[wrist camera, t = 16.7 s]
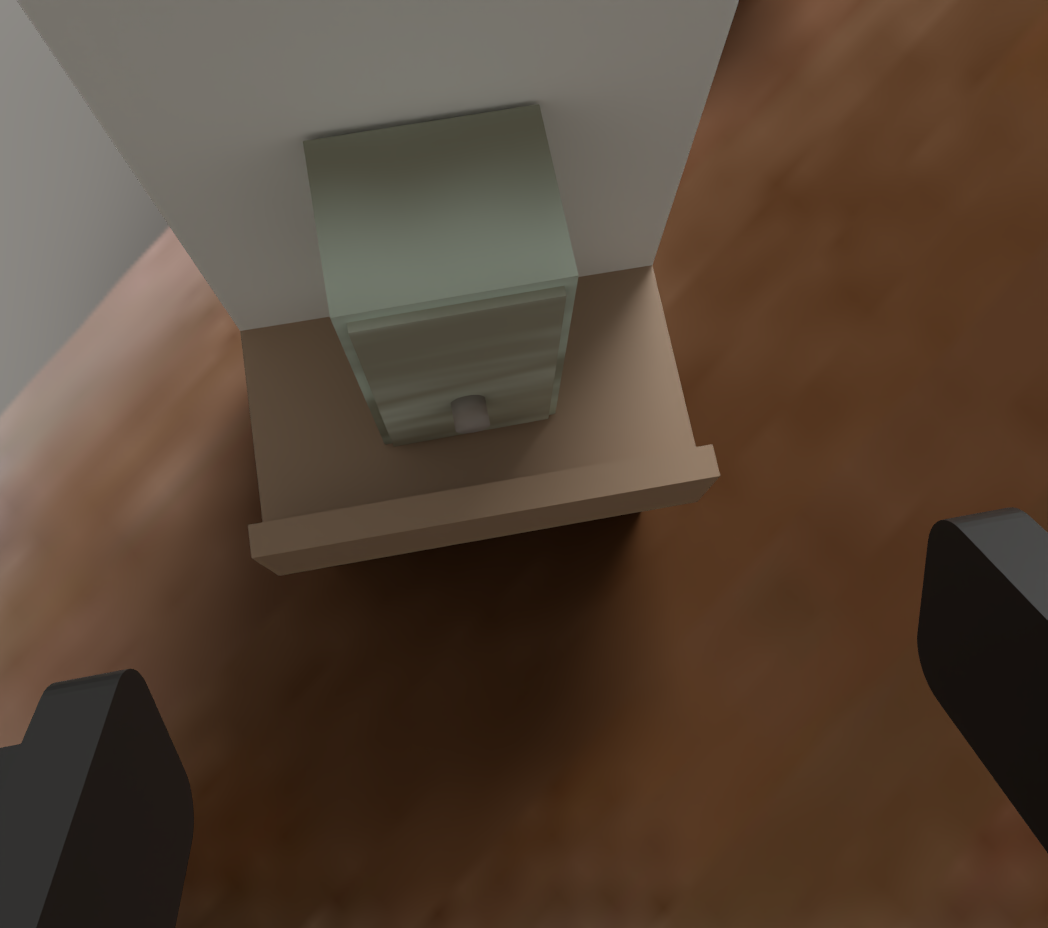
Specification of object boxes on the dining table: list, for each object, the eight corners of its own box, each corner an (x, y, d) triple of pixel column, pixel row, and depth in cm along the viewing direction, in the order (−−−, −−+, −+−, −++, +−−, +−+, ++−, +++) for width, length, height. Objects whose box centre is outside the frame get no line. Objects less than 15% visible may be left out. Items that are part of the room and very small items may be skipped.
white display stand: (669, 532, 37) (1014, 144, 12) (311, 596, 36) (-120, 320, 11) (616, 299, 40) (811, -424, 15) (281, 353, 39) (-128, -318, 14)
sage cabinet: (561, 444, 31) (588, 318, 21) (389, 475, 30) (337, 361, 21) (528, 289, 32) (539, 104, 22) (363, 317, 32) (302, 141, 22)
